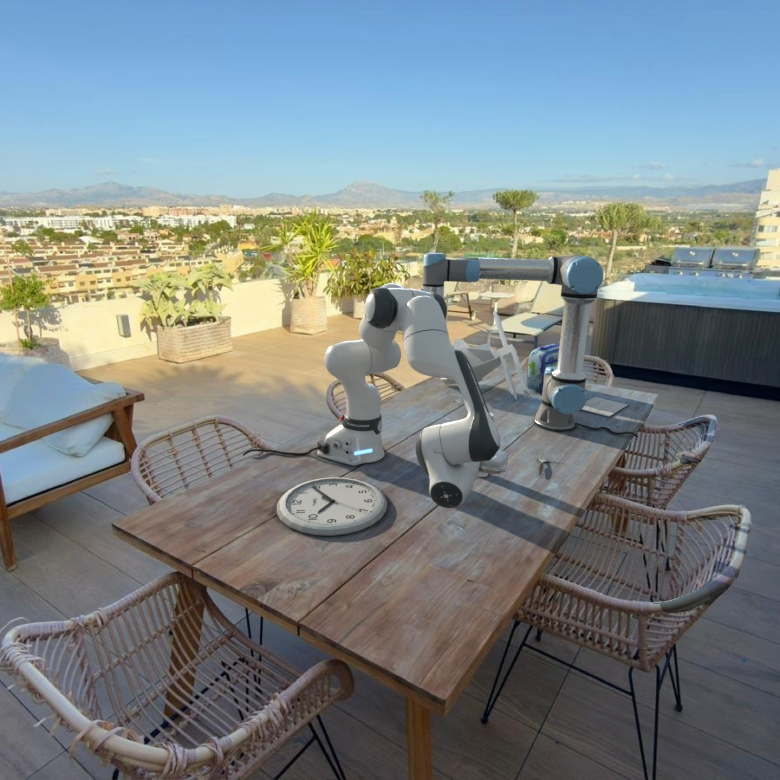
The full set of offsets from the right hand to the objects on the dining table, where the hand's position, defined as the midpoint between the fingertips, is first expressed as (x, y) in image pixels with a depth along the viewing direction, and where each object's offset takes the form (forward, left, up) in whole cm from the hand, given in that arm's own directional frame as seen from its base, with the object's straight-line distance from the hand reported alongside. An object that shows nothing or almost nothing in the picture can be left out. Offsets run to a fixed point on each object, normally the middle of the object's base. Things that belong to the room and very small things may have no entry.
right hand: (430, 357), depth 190 cm
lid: (-18, +35, -9) cm, 40 cm away
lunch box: (-54, -62, -28) cm, 87 cm away
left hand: (-14, +55, -10) cm, 58 cm away
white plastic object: (-22, -50, -28) cm, 61 cm away
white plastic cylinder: (-18, +35, -28) cm, 48 cm away
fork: (-38, +27, -28) cm, 54 cm away
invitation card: (-73, -38, -28) cm, 87 cm away
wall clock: (+23, +61, -28) cm, 71 cm away
